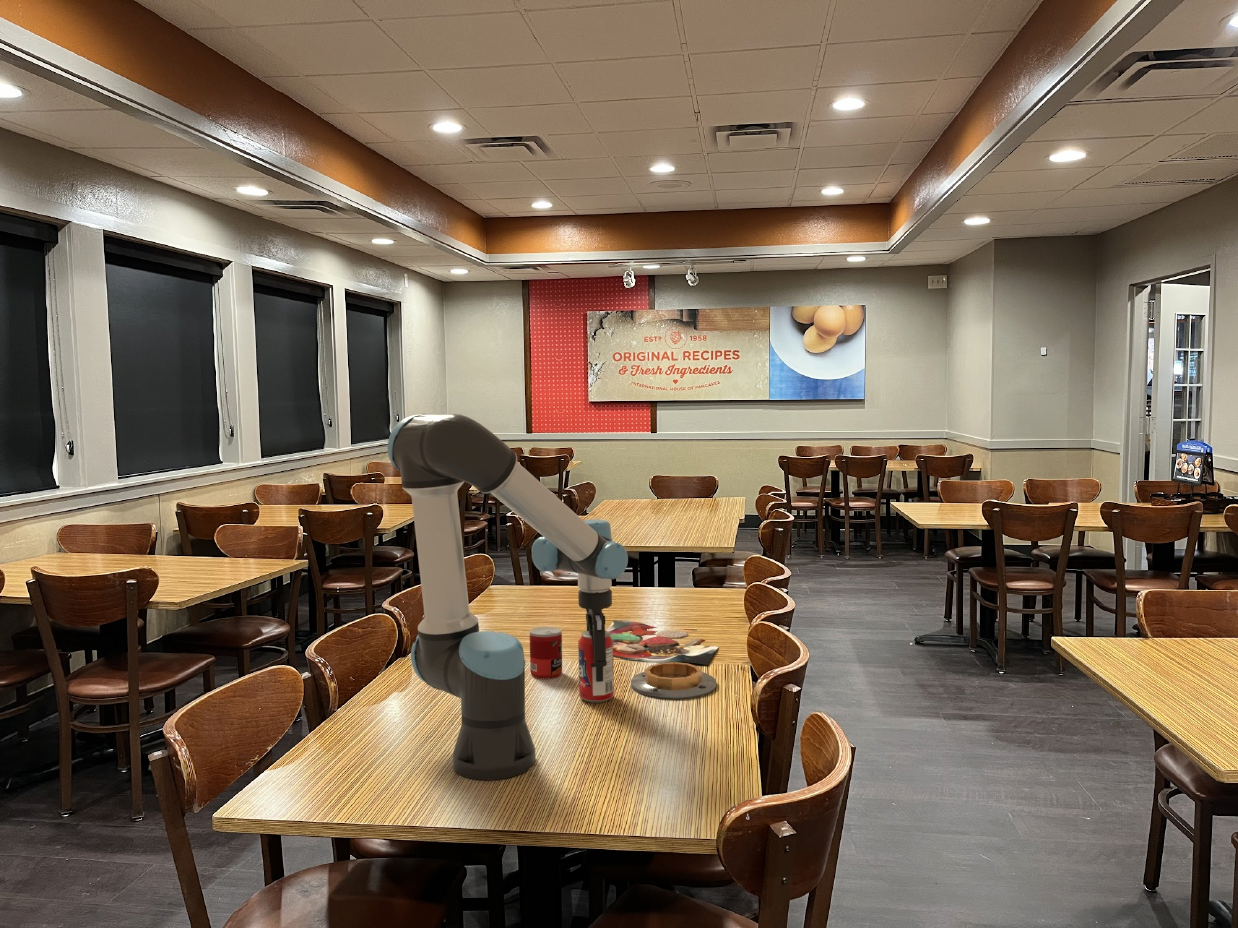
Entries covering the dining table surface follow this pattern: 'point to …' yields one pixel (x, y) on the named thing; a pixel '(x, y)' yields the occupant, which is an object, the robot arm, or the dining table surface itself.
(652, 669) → the bolted flange plate
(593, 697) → the soda can
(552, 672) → the canned food
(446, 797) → the dining table surface
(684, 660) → the colorful printed placemat
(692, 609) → the dining table surface
